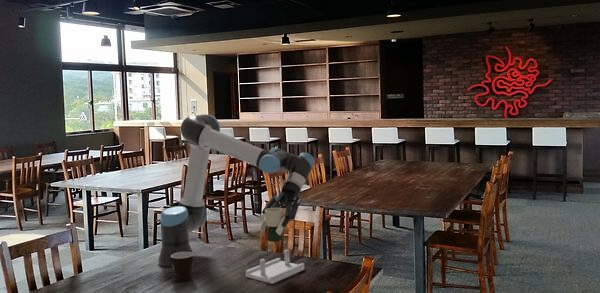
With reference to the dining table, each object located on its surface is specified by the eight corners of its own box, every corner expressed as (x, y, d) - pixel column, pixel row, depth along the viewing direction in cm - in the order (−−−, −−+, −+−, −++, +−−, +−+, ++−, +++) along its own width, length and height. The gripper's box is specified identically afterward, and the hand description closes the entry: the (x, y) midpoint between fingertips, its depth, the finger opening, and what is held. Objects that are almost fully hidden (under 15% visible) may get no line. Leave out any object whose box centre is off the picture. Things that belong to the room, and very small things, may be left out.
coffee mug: (189, 284, 204) (188, 258, 203) (168, 283, 206) (167, 257, 205) (200, 274, 215) (199, 250, 214) (181, 273, 217) (179, 249, 216)
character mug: (288, 238, 216) (287, 207, 215) (288, 243, 209) (287, 210, 208) (262, 239, 216) (260, 208, 215) (260, 244, 209) (259, 211, 208)
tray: (245, 276, 210) (245, 258, 210) (278, 263, 226) (277, 246, 225) (272, 283, 202) (271, 264, 201) (304, 269, 218) (303, 251, 217)
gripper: (317, 193, 217) (294, 240, 206) (278, 188, 230) (254, 233, 219) (309, 182, 212) (285, 230, 201) (269, 178, 225) (244, 223, 214)
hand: (269, 231), depth 210 cm, fingers closed on character mug, 8 cm apart
